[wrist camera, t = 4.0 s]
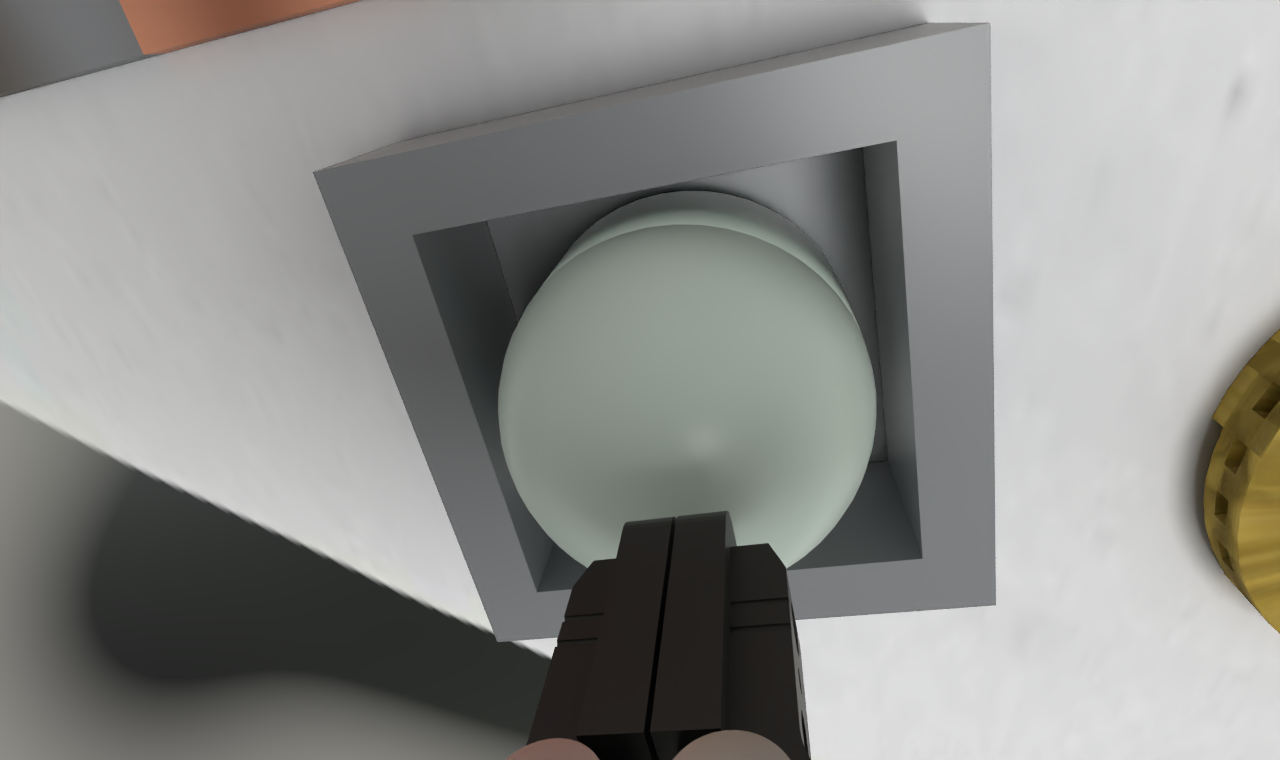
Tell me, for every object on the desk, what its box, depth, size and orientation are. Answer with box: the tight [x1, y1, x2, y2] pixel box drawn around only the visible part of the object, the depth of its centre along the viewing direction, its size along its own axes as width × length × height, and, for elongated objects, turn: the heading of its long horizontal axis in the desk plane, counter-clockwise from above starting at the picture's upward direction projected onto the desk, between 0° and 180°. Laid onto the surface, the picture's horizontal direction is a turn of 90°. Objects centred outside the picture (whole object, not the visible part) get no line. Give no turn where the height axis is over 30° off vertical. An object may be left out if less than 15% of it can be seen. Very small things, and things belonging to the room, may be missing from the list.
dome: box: [498, 191, 876, 569], centre depth 15 cm, size 8×8×8 cm
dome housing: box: [313, 23, 996, 642], centre depth 17 cm, size 12×12×4 cm
